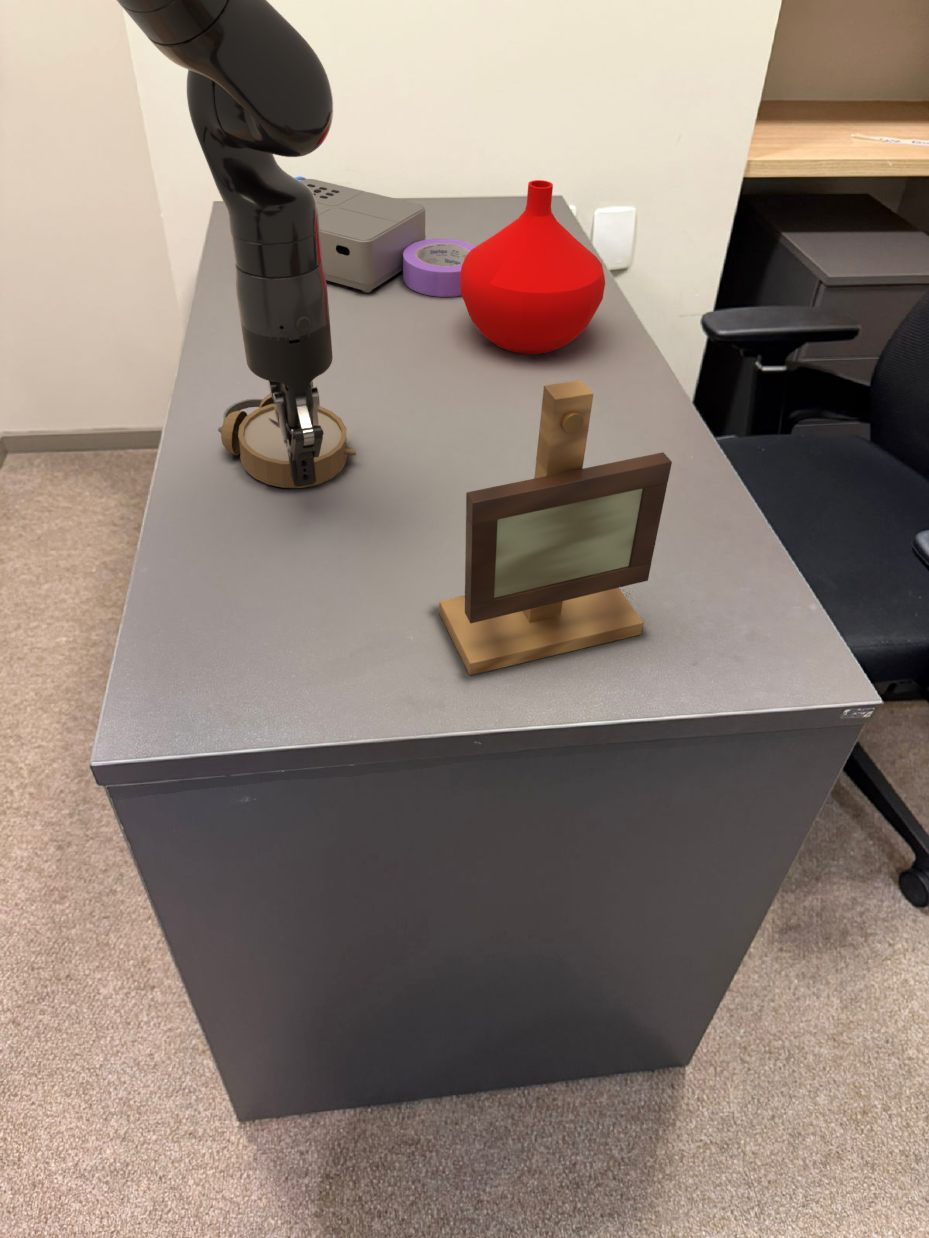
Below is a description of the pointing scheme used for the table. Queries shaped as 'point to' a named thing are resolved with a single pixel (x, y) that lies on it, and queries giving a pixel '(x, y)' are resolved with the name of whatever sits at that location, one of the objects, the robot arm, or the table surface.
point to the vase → (532, 281)
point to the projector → (364, 233)
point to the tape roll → (435, 266)
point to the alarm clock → (279, 443)
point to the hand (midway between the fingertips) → (303, 481)
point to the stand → (559, 621)
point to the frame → (562, 535)
